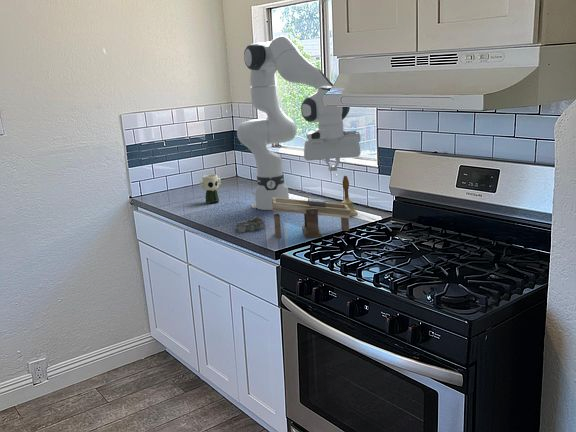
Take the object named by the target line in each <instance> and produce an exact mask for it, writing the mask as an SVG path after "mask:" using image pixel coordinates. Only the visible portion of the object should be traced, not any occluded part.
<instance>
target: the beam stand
mask: <svg viewBox="0 0 576 432" xmlns="http://www.w3.org/2000/svg"><path fill="white" fill-rule="evenodd" d="M280 216H281V215H280V212H274V213H273V220H274V221H273V222H274V224H273V225H274V235H275V236H274V237H275V238H282V229H281V217H280ZM303 220H304V225H301V229H302V232H303V235H304V238H305V239H313V238H322V237H323V234H322V232H321V230H320V227H319V215H318V209H317V208H308V209H306V214H303ZM349 220H350V218H342V217H340V226H341V230H342V231H349V232H350V221H349Z"/></svg>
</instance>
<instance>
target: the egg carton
mask: <svg viewBox="0 0 576 432" xmlns="http://www.w3.org/2000/svg"><path fill="white" fill-rule="evenodd" d="M234 224H235V227H236V229H237V230H236V231H238V232H239V233H240V232H241V233H246V232H247V231H250V232H251V231H252V232H253V231H255V230H263V229H264V228H265V221H264V220H262V218H261V217H260V215H256V216H253V217H251V218H250V219H249V218H248V219H247V220H243V221H240V222H237V221H236V222H235V223H234Z"/></svg>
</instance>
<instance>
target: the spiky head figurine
mask: <svg viewBox="0 0 576 432" xmlns="http://www.w3.org/2000/svg"><path fill="white" fill-rule="evenodd" d="M201 178H202V180H201V181H200V182H199V187H200V189H203V190H205V191H206V192H205V203H207V202H215V201H216V202H215V203H218V202H217V201H220V198H219V194H218V191H217V189H218V188H219V185H221V184H222V181H221V177H218V175H217V174H205V175H202V177H201Z"/></svg>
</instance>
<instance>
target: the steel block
mask: <svg viewBox="0 0 576 432" xmlns="http://www.w3.org/2000/svg"><path fill="white" fill-rule="evenodd" d="M307 201H308V204H307V205H309V206H319V207H325V205H326V203H327V202H326V200H325V199H322V198H313V197H312V198H311V197H308V198H307Z"/></svg>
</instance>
